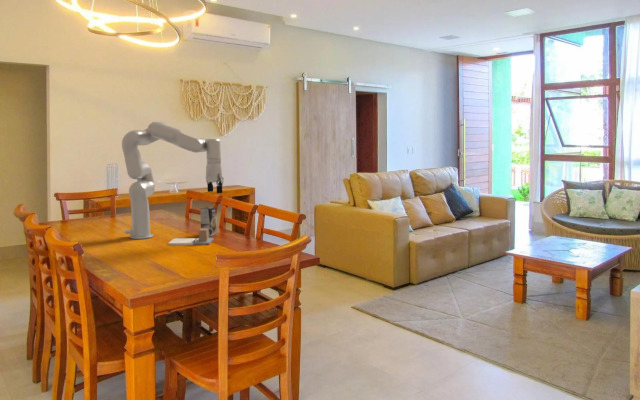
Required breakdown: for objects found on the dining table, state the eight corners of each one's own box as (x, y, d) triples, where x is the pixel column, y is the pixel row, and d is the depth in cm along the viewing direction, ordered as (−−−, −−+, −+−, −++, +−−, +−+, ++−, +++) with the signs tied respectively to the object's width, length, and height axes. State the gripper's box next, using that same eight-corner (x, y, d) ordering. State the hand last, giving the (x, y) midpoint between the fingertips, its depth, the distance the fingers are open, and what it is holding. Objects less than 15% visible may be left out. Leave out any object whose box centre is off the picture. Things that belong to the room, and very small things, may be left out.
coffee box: (211, 236, 281) (210, 208, 279) (200, 236, 282) (199, 208, 280) (217, 233, 290) (216, 206, 288) (207, 233, 291) (206, 206, 289)
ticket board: (168, 244, 260) (168, 242, 259) (174, 239, 271) (174, 237, 271) (193, 244, 260) (193, 242, 260) (198, 239, 272) (198, 237, 272)
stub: (194, 244, 260) (193, 231, 259) (198, 239, 272) (198, 227, 271) (209, 244, 260) (209, 231, 259) (213, 239, 272) (213, 227, 271)
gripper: (199, 161, 273) (201, 191, 275) (215, 162, 261) (217, 194, 263) (211, 160, 278) (212, 190, 280) (228, 161, 266) (229, 193, 268)
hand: (214, 192), depth 272 cm, fingers open, 9 cm apart
